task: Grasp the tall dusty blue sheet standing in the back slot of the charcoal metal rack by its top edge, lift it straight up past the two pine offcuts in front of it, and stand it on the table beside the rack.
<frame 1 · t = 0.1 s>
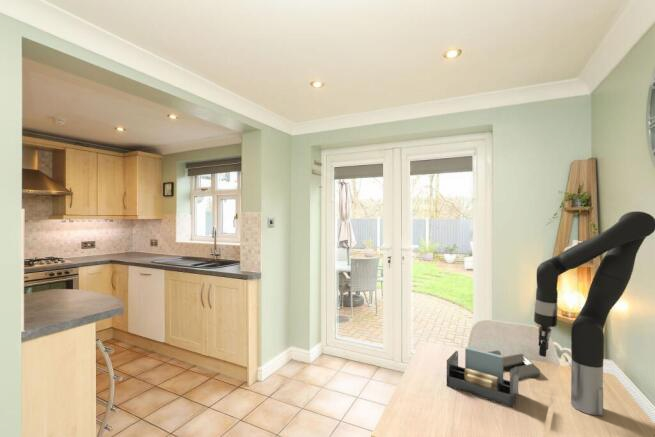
hand: (543, 352, 128), 17 cm above the table, tool pointing down, fingers open, 8 cm apart
rack: (481, 393, 130), on the table
offcut long: (480, 390, 129), point 1 cm above the table, touching rack
emblem: (504, 369, 151), on the table
offcut short: (479, 393, 127), point 1 cm above the table, touching rack
blue sheet: (483, 386, 133), point 1 cm above the table, touching rack
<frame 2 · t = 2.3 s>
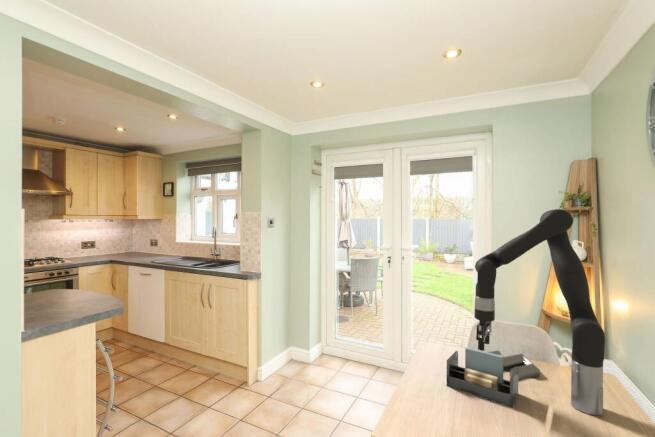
hand: (483, 346, 133), 18 cm above the table, tool pointing down, fingers open, 8 cm apart
nothing on the table moved.
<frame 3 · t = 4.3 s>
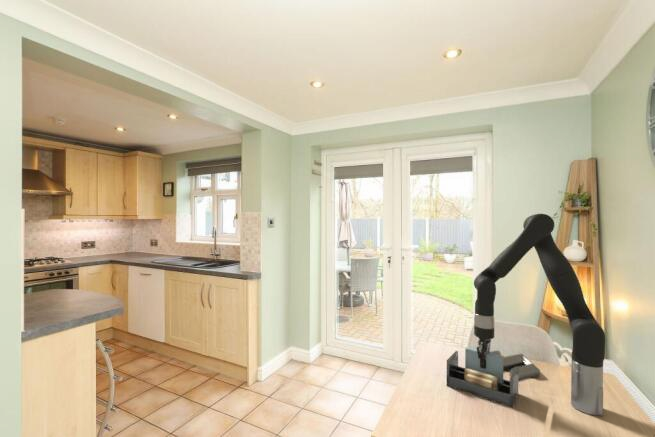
hand: (483, 366, 133), 10 cm above the table, tool pointing down, fingers closed on blue sheet, 2 cm apart
blue sheet: (483, 386, 133), point 2 cm above the table, touching gripper, rack
everything else where it was.
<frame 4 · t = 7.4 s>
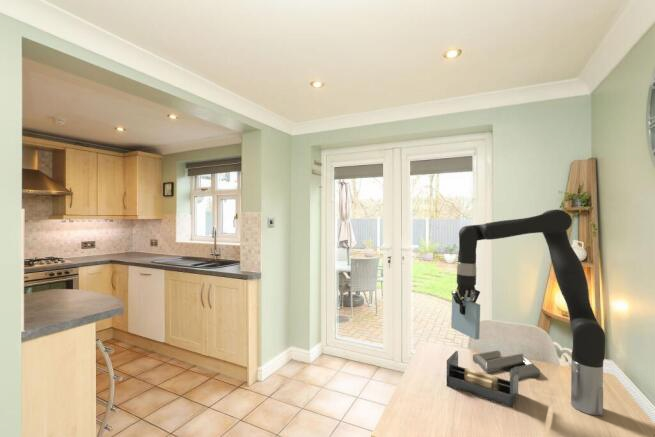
hand: (465, 313, 136), 30 cm above the table, tool pointing down, fingers closed on blue sheet
blue sheet: (464, 333, 137), point 22 cm above the table, touching gripper
everything else where it was.
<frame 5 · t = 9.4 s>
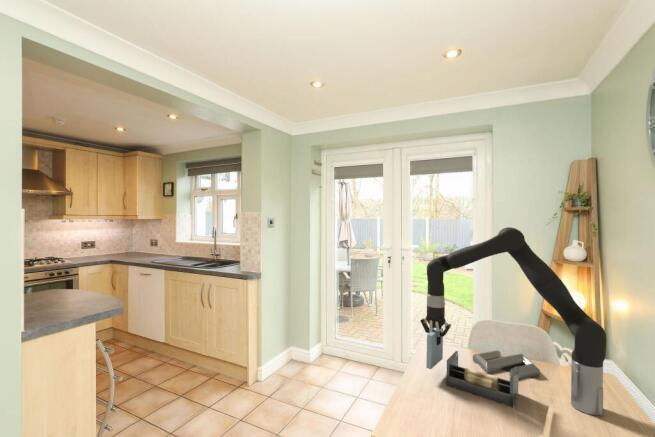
hand: (435, 343, 142), 15 cm above the table, tool pointing down, fingers closed on blue sheet
blue sheet: (434, 363, 141), point 7 cm above the table, touching gripper
everything else where it was.
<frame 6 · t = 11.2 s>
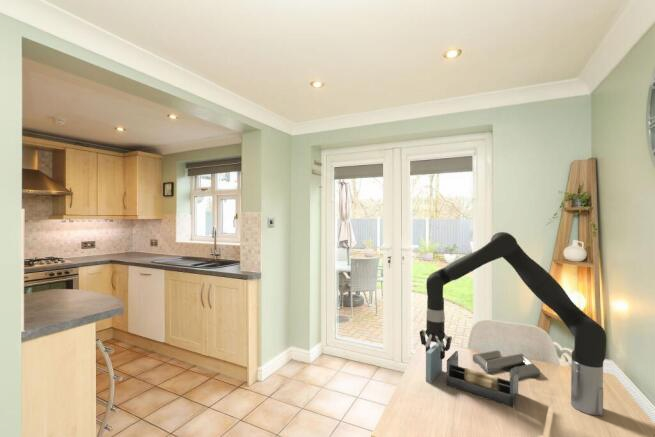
hand: (435, 356, 142), 9 cm above the table, tool pointing down, fingers open, 5 cm apart
blue sheet: (434, 379, 141), on the table
everything else where it was.
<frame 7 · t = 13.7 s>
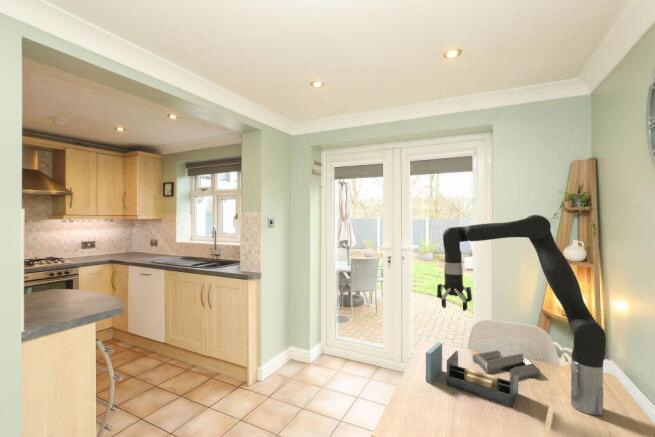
hand: (454, 309, 143), 30 cm above the table, tool pointing down, fingers open, 8 cm apart
nothing on the table moved.
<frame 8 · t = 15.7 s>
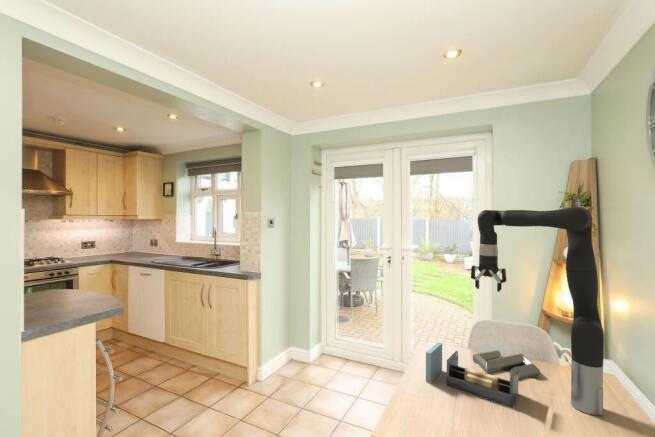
hand: (488, 289, 146), 38 cm above the table, tool pointing down, fingers open, 8 cm apart
nothing on the table moved.
at the end: blue sheet inside the target area (1.1 cm from its centre), on the table; offcut long moved 0.0 cm from its start; offcut short moved 0.0 cm from its start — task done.
